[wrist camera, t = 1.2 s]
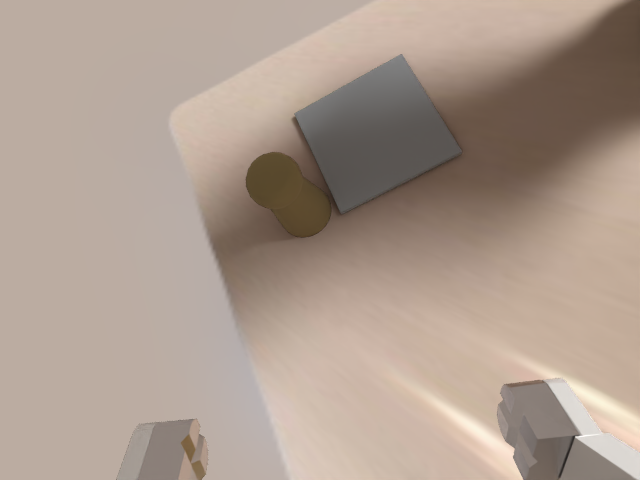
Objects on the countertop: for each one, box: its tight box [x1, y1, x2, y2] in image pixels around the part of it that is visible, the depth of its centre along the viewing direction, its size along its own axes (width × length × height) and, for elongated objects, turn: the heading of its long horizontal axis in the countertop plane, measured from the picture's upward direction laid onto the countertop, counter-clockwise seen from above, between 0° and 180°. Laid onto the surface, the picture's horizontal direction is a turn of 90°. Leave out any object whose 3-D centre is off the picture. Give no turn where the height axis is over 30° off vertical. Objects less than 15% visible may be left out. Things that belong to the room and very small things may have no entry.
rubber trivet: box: [295, 54, 462, 214], centre depth 47 cm, size 14×14×1 cm
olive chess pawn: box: [246, 152, 331, 237], centre depth 42 cm, size 6×6×11 cm
